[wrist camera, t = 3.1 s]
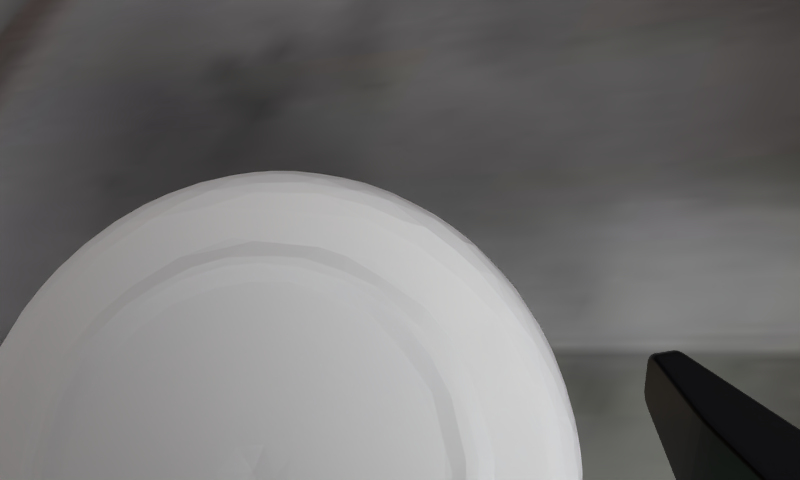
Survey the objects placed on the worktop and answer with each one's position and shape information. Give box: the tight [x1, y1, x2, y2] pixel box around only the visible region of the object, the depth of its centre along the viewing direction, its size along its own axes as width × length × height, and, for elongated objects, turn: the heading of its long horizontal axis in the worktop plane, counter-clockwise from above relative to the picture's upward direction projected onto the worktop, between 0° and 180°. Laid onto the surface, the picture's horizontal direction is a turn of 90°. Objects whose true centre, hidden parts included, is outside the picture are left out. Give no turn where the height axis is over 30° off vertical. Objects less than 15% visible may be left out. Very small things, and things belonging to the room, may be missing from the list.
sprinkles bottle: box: [0, 171, 582, 480], centre depth 10 cm, size 5×5×13 cm
